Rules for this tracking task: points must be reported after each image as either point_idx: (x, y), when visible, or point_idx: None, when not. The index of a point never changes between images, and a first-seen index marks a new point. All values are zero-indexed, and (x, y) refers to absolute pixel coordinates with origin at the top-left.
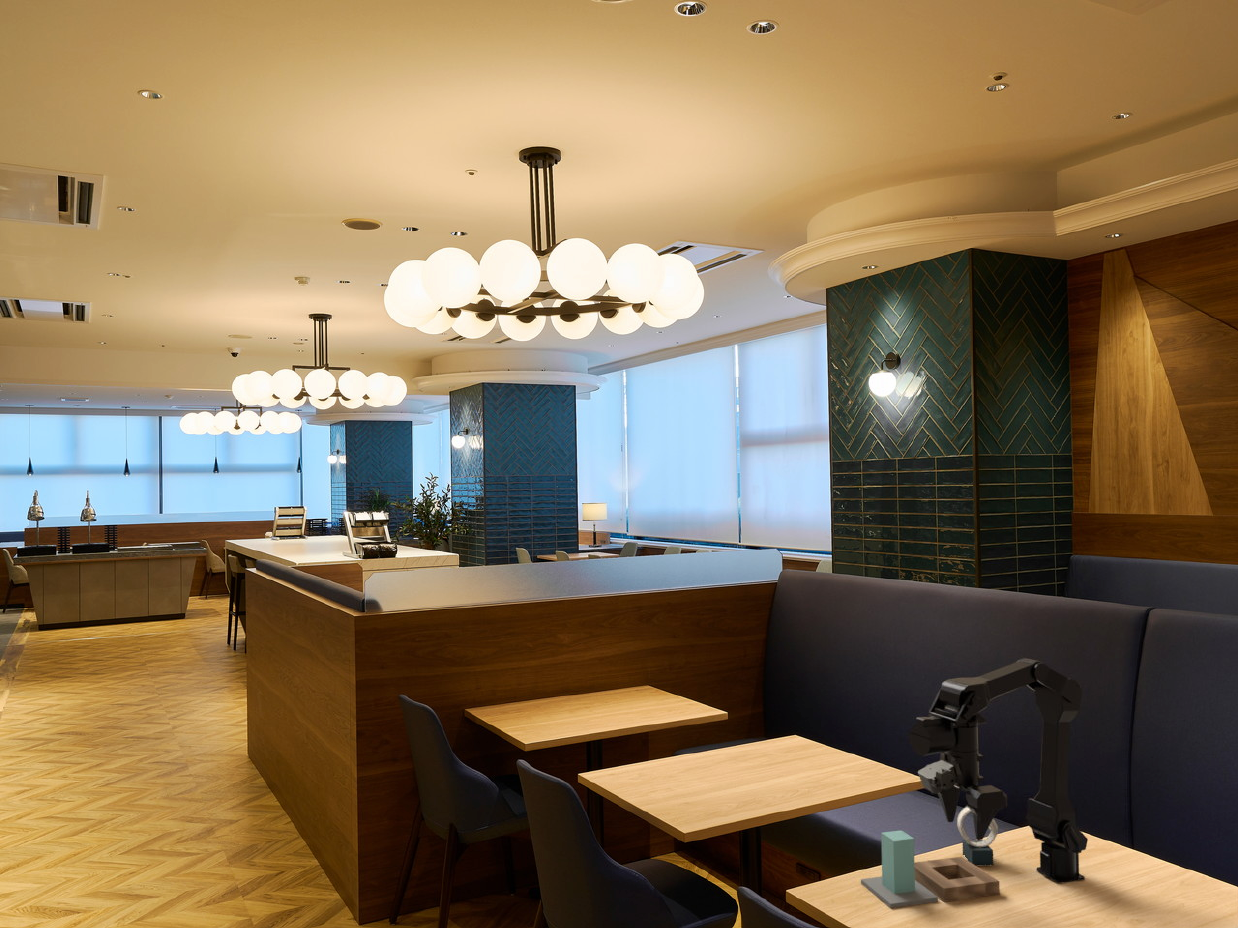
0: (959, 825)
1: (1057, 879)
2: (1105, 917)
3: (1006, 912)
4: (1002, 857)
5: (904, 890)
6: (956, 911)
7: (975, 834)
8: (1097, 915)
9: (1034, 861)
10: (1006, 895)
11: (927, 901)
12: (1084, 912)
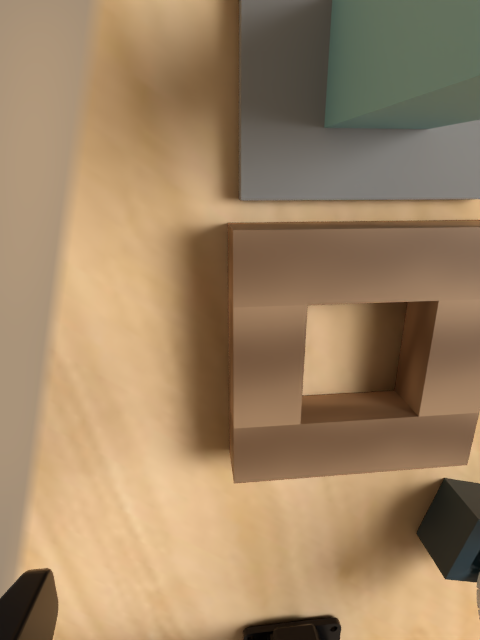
0: None
1: (255, 636)
2: None
3: (92, 399)
4: None
5: (331, 60)
6: (135, 221)
7: (23, 608)
8: None
9: (388, 635)
10: (215, 464)
11: (239, 142)
12: None
